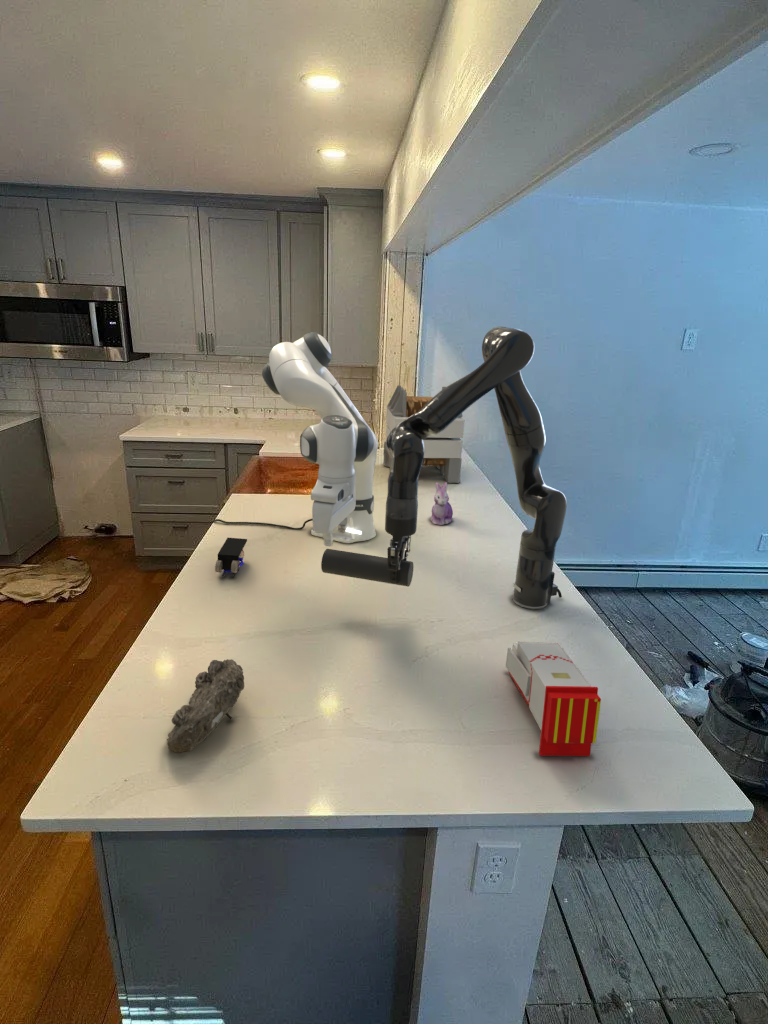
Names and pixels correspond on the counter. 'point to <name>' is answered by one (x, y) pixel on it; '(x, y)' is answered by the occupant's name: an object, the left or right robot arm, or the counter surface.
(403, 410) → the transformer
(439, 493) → the figurine
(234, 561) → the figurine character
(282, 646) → the counter surface
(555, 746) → the toy
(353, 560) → the rod
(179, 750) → the fossil
